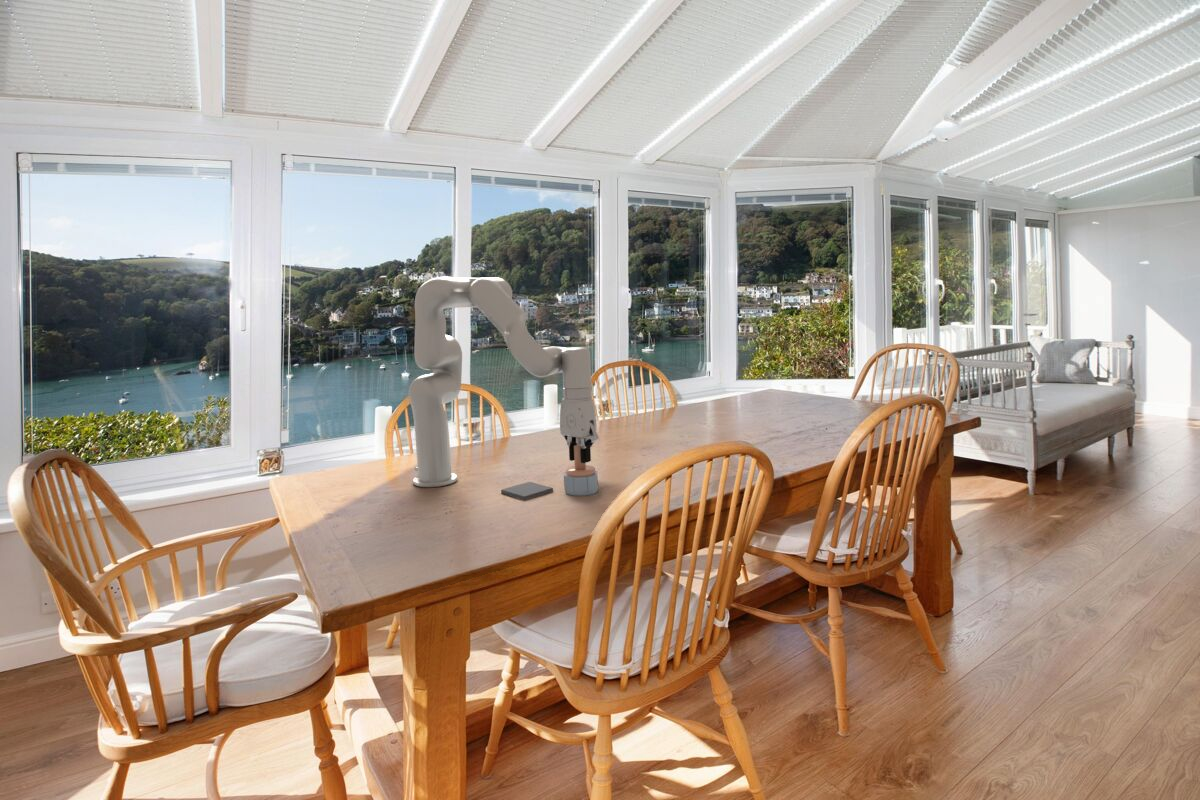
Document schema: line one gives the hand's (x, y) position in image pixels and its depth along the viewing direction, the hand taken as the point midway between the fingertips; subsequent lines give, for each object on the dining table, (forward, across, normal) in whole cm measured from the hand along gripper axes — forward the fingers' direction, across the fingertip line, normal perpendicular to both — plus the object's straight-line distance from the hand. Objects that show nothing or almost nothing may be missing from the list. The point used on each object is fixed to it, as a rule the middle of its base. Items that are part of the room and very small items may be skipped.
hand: (580, 460), depth 184 cm
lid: (+4, 0, 0) cm, 4 cm away
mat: (+9, -11, -10) cm, 17 cm away
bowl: (+9, 0, 0) cm, 9 cm away
